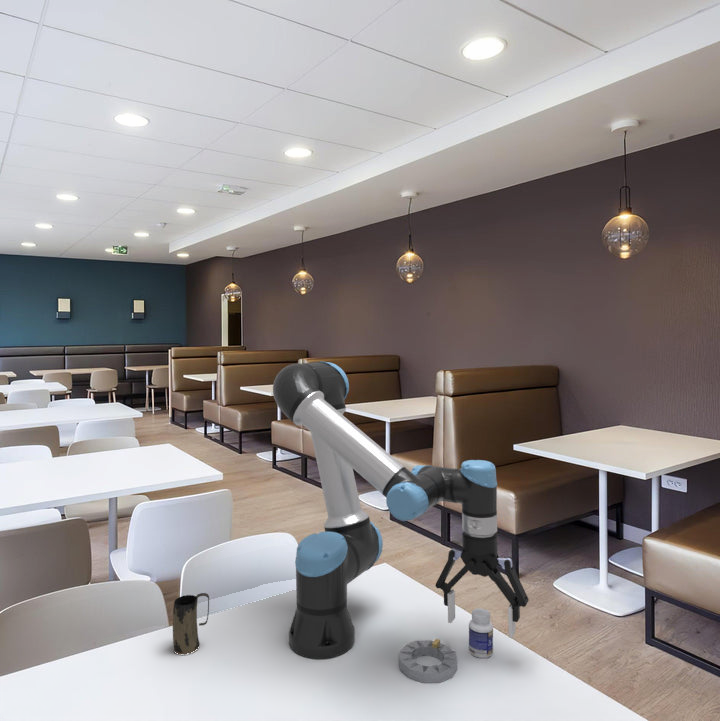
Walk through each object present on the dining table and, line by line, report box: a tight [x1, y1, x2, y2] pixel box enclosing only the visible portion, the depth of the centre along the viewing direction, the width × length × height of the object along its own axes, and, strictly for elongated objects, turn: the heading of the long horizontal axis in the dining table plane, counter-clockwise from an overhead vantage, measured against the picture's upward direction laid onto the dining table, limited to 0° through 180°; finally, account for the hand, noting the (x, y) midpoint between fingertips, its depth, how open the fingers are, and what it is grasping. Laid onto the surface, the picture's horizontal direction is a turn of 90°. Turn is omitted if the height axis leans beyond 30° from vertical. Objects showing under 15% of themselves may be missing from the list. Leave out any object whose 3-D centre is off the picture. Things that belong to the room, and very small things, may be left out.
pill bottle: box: [468, 608, 494, 659], centre depth 121 cm, size 5×5×9 cm
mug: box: [172, 592, 210, 654], centre depth 123 cm, size 8×6×12 cm
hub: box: [398, 638, 458, 684], centre depth 117 cm, size 12×12×3 cm
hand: (481, 627), depth 121 cm, fingers open, 13 cm apart
